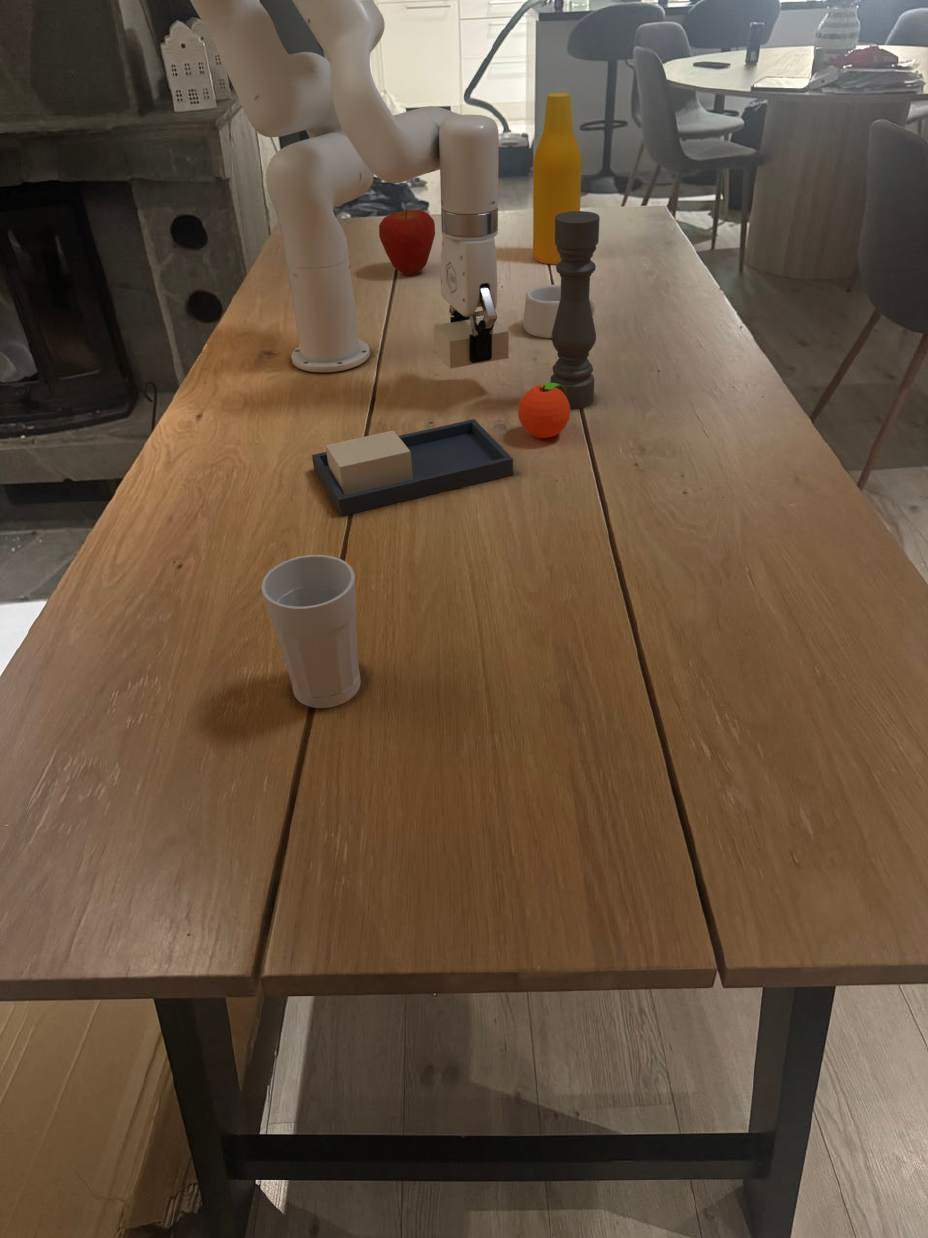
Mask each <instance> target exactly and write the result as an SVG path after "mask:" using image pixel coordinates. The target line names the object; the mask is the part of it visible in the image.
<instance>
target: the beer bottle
mask: <svg viewBox="0 0 928 1238" xmlns="http://www.w3.org/2000/svg"><path fill="white" fill-rule="evenodd" d="M546 95H547V96H546V103H545V113H544V124H543V129H542V130H543V131H542V134H541V137H540V138H539V142H538V143H537V146H536V150H535V152H534V157H533V162H532V163H533V169H532V171H533V179H532V180H533V183H532V185H533V186H532V187H533V188H532V192H533V201H532V202H533V204H532V205H533V206H532V210H533V211H532V213H533V214H532V215H533V216H532V218H533V219H532V228H533V229H532V231H533V232H532V256H533V259H534V260H535V261H536V262H538V263H540V264H545V265H557V264H558V263H559V262H560V261H561V258H560V254H559V253H558V251H557V245H555V216H557V215H558V214H561V213H564V212H570V211H581V191H582V189H581V188H582V163H583V161H582V154H581V150H580V146H579V143H578V141H577V138H576V135H575V133H574V128H573V127H574V126H573V115H572V113H573V112H572V101H571V100H572V99H571V93H569V92H551V93H548V94H546Z"/></svg>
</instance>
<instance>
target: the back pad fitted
mask: <svg viewBox="0 0 928 1238" xmlns="http://www.w3.org/2000/svg"><path fill="white" fill-rule="evenodd" d="M399 436H400V435H398V434H397V433H396V432H395V430H388V431H385V432H379V433H375V434H370V435H366V436H361V437H357V438H352V439H347V440H343V441H339V442H334V443H329V444H325V452H327V459H328V465H329V472H330V474H331V476H332V478H333V479H334V481H335V483H336V484H337V486H338V487H339V489H340V491H341V492H342V494H343V496H344V495H348V494H352V493H356V492H361V491H365V490H369V489H373V488H378V487H382V486H386V485H390V484H395V483H399V482H403V481H407V480H412V479H413V475H412V464H411V452H410V450H409V449H408V448H407V446H406V445H405V444H404V443H403V441H402V440H401V439H400V438H399Z"/></svg>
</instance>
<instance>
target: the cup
mask: <svg viewBox="0 0 928 1238" xmlns="http://www.w3.org/2000/svg"><path fill="white" fill-rule="evenodd" d="M261 593H262V595H263V599H264V602H265V605H266V608H267V610H268V614H269V617H270V620H271V622H272V625H273V629H274V632H275V635H276V638H277V639H276V640H277V641H278V644H279V645H278V646H279V647H280V651H281V654H282V657H283V661H284V664H285V666H286V670H287V674H288V677H289V679H290V683H291V687H292V693H293V696H294V697H295V699H296V700H297V701H298V702H299V703H301V704H302V705H304V706H307V707H310V708H315V709H328V708H334V707H337V706H340V705H342V704H345V703H347V702H348V701H350V700H351V699H353V698H354V696H356V694H357V693H358V692H359V690H360V688H361V683H362V682H361V674H360V667H359V653H358V651H359V650H358V633H357V615H356V614H357V613H356V609H357V600H356V575H355V571H354V569H353V567H352V566H351V565H350V564H349V563H348V562H347V561H345V560H343V559H341V558H339V557H336V556H333V555H326V554H307V555H306V554H305V555H300V556H296V557H293V558H289V559H287V560H285V561H282V562H281V563H279V564H277V565H276V566H274V567H272V568H271V569H269V571H268V572H267V573H266V574H265V576H264V577H263V579H262V582H261Z"/></svg>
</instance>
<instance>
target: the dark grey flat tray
mask: <svg viewBox="0 0 928 1238" xmlns="http://www.w3.org/2000/svg"><path fill="white" fill-rule="evenodd" d="M398 436H399V438H400V439H401V440H402V441H403V443H404V444H405V445H406V446H407V448H408V449H409V450H410V452H411V464H412V475H413V479H412V480H407V481H403V482H399V483H395V484H390V485H386V486H382V487H378V488H373V489H369V490H365V491H361V492H356V493H352V494H348V495H344V496H343V494H342V492H341V491H340V489H339V487H338V486H337V484H336V483H335V481H334V479H333V478H332V476H331V474H330V472H329V465H328V459H327V452H326V451H323V452H319V453H314V454H312V455H311V458H312V465H313V471H314V473H315V474H316V476H317V478H318V479H319V481H320V483H321V484H322V487H323V488H324V489H325V491H326V493H327V494H328V497H329V498H330V500H331V501H332V503H333V505H334V506H335V508H336V510H337V511H338V513H339V515H340V516H341V517H344V516H348V515H352V514H358V513H361V512H365V511H369V510H373V509H377V508H381V507H385V506H390V505H394V504H398V503H402V502H403V503H404V502H407V501H409V500H416V499H420V498H424V497H428V496H431V495H436V494H440V493H443V492H447V491H452V490H456V489H459V488H460V489H461V488H465V487H468V486H472V485H477V484H481V483H485V482H488V481H493V480H497V479H501V478H506V477H510V476H513V475H514V458H513V456H511V455H510V454H509V452H507V451H506V450H505V449H504V448H503V446H501V445H500V444H499V443H498V441H496V439H495V438H493V437H492V435H491V434H489V432H488V431H486V429H485V428H484V427H482V425H481V424H480V423H479V422H478V421H477V420H476V419H475V418H473V419H469V420H464V421H460V422H454V423H451V424H447V425H442V426H436V427H432V428H428V429H423V430H419V431H414V432H410V433H405V434H402V435H401V434H400V435H398Z"/></svg>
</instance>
